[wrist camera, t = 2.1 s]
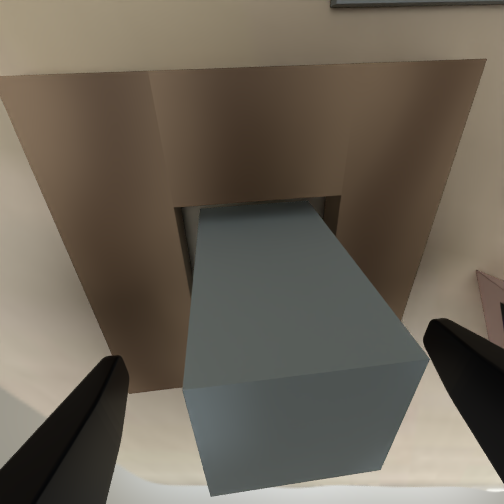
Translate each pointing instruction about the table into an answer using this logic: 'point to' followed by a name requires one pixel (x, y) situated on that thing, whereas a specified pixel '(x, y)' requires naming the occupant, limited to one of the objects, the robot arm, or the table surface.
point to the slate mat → (408, 2)
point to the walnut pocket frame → (233, 174)
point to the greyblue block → (290, 353)
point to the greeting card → (492, 306)
